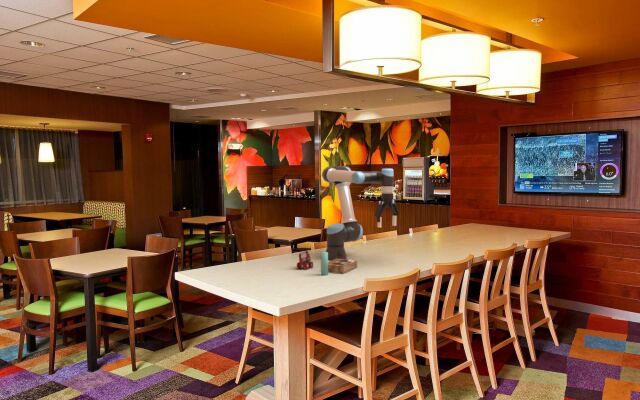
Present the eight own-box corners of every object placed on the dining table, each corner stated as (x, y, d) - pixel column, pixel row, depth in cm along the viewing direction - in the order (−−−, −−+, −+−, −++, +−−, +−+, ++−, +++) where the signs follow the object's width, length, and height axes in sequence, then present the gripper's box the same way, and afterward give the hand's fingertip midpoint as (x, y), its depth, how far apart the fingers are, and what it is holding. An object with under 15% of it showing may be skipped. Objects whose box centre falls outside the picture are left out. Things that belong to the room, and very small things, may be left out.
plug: (319, 275, 277) (319, 252, 276) (323, 273, 281) (322, 251, 280) (326, 275, 275) (326, 253, 274) (329, 274, 279) (329, 252, 278)
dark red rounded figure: (315, 267, 300) (315, 250, 299) (304, 270, 289) (304, 253, 289) (305, 266, 303) (305, 249, 303) (295, 269, 293) (295, 252, 292)
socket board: (322, 271, 286) (322, 263, 286) (336, 265, 304) (336, 257, 304) (343, 273, 280) (343, 265, 280) (357, 267, 298) (357, 259, 297)
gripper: (377, 194, 291) (377, 228, 293) (405, 192, 307) (404, 225, 308) (369, 193, 297) (368, 227, 299) (396, 192, 313) (395, 224, 314)
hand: (386, 226), depth 303 cm, fingers open, 13 cm apart
